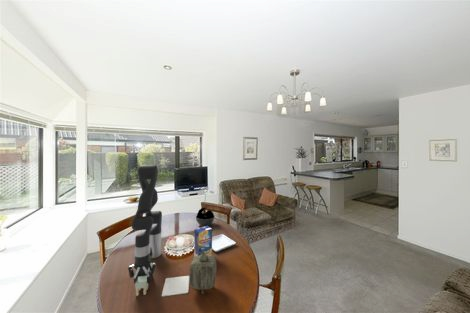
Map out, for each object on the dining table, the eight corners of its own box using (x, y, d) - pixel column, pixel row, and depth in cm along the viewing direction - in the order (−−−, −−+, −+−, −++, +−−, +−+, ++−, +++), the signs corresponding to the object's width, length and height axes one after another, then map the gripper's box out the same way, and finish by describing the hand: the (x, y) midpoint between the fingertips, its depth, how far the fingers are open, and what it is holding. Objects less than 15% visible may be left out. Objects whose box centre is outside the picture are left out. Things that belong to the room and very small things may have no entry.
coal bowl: (194, 223, 201) (195, 206, 200) (212, 221, 207) (212, 205, 206) (196, 230, 182) (196, 211, 181) (216, 228, 188) (216, 210, 187)
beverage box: (211, 258, 133) (212, 228, 133) (198, 263, 126) (198, 232, 126) (207, 253, 139) (207, 225, 138) (194, 259, 132) (194, 229, 132)
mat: (165, 279, 110) (165, 278, 110) (189, 276, 113) (189, 275, 113) (161, 296, 97) (161, 296, 97) (188, 293, 99) (188, 292, 99)
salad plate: (215, 255, 138) (215, 250, 138) (201, 244, 155) (202, 240, 155) (236, 246, 152) (236, 242, 152) (222, 237, 168) (222, 233, 168)
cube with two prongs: (138, 288, 101) (138, 276, 101) (148, 287, 103) (148, 275, 102) (135, 296, 96) (135, 283, 96) (146, 294, 97) (146, 282, 97)
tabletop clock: (216, 285, 106) (216, 242, 106) (215, 297, 97) (215, 251, 97) (191, 285, 105) (192, 242, 105) (188, 297, 96) (188, 251, 96)
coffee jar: (151, 273, 116) (152, 244, 115) (153, 280, 109) (153, 250, 109) (134, 278, 110) (134, 248, 110) (135, 286, 104) (135, 254, 104)
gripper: (157, 248, 104) (157, 276, 104) (130, 250, 101) (130, 280, 102) (154, 255, 97) (154, 286, 97) (125, 257, 94) (125, 289, 94)
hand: (142, 282), depth 99 cm, fingers closed on cube with two prongs, 5 cm apart
